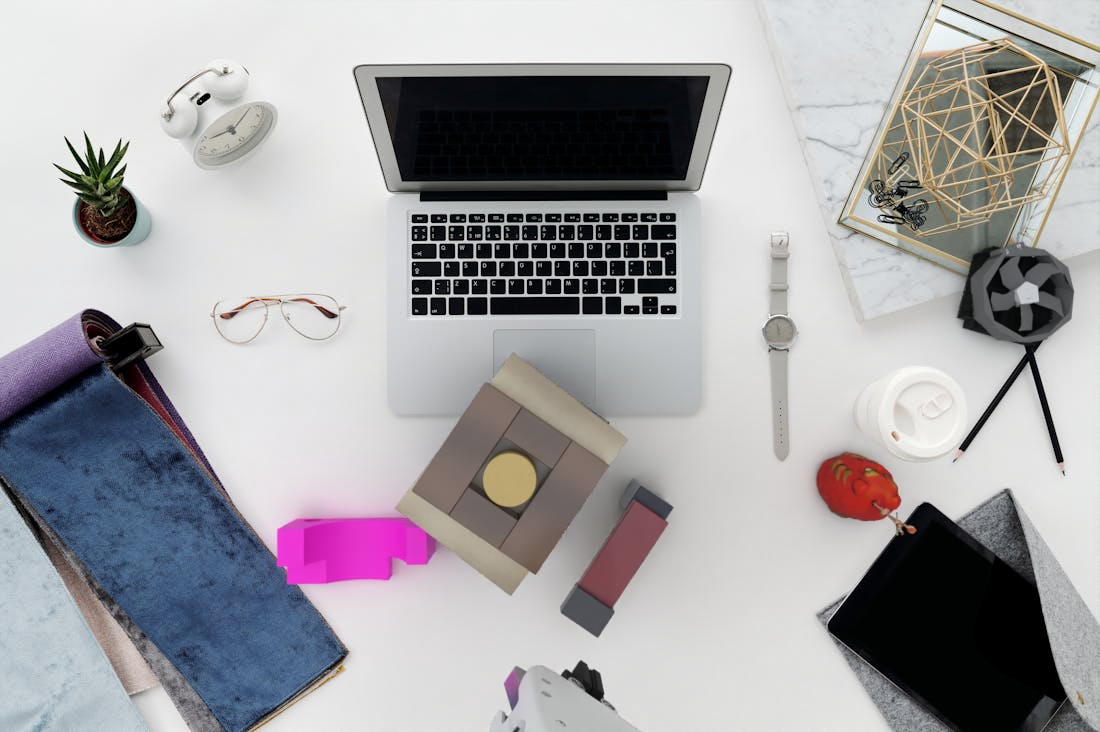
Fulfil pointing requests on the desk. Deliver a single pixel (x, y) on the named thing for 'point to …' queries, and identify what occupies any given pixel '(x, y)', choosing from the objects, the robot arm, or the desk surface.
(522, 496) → the button
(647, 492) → the dark blue-grey long block
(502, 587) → the interlocking block puzzle
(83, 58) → the desk surface
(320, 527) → the toy block
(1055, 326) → the cpu cooler
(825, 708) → the desk surface
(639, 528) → the bar
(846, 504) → the red clay folk toy
